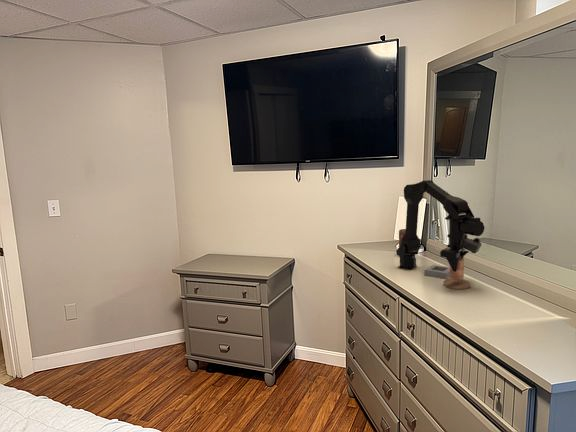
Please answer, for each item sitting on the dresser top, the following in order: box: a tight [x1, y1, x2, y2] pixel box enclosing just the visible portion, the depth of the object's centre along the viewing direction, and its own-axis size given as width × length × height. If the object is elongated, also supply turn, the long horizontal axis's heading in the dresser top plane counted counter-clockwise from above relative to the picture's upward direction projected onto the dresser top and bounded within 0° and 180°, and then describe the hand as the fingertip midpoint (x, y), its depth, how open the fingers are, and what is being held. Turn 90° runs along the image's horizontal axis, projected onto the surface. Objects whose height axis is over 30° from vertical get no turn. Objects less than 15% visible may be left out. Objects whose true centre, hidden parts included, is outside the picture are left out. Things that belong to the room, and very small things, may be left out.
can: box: [398, 228, 406, 248], centre depth 200 cm, size 6×6×14 cm
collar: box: [423, 264, 450, 280], centre depth 169 cm, size 10×10×2 cm
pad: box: [442, 278, 471, 291], centre depth 155 cm, size 10×10×1 cm
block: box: [449, 258, 465, 281], centre depth 154 cm, size 4×4×8 cm
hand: (456, 270), depth 154 cm, fingers closed on block, 4 cm apart
